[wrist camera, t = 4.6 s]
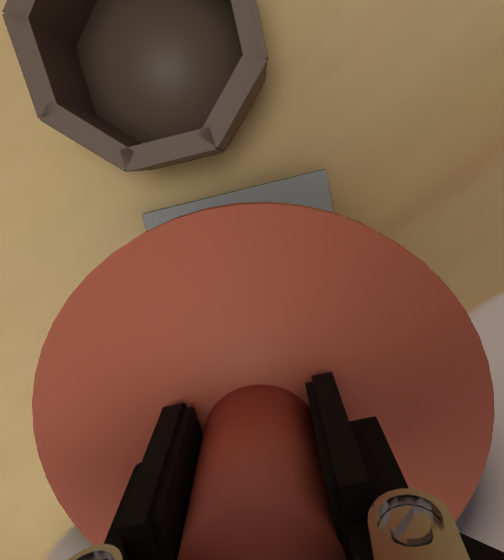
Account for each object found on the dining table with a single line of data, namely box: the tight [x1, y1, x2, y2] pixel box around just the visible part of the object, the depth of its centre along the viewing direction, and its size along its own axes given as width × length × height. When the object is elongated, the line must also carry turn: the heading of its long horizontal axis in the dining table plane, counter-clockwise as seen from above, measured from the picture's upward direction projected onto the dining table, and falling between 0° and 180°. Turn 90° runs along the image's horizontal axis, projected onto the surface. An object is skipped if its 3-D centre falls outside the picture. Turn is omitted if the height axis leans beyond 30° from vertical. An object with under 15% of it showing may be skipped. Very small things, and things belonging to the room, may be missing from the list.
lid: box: [32, 202, 494, 560], centre depth 10 cm, size 12×12×5 cm
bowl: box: [2, 0, 268, 172], centre depth 21 cm, size 10×10×6 cm
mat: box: [142, 169, 333, 231], centre depth 27 cm, size 11×11×1 cm
